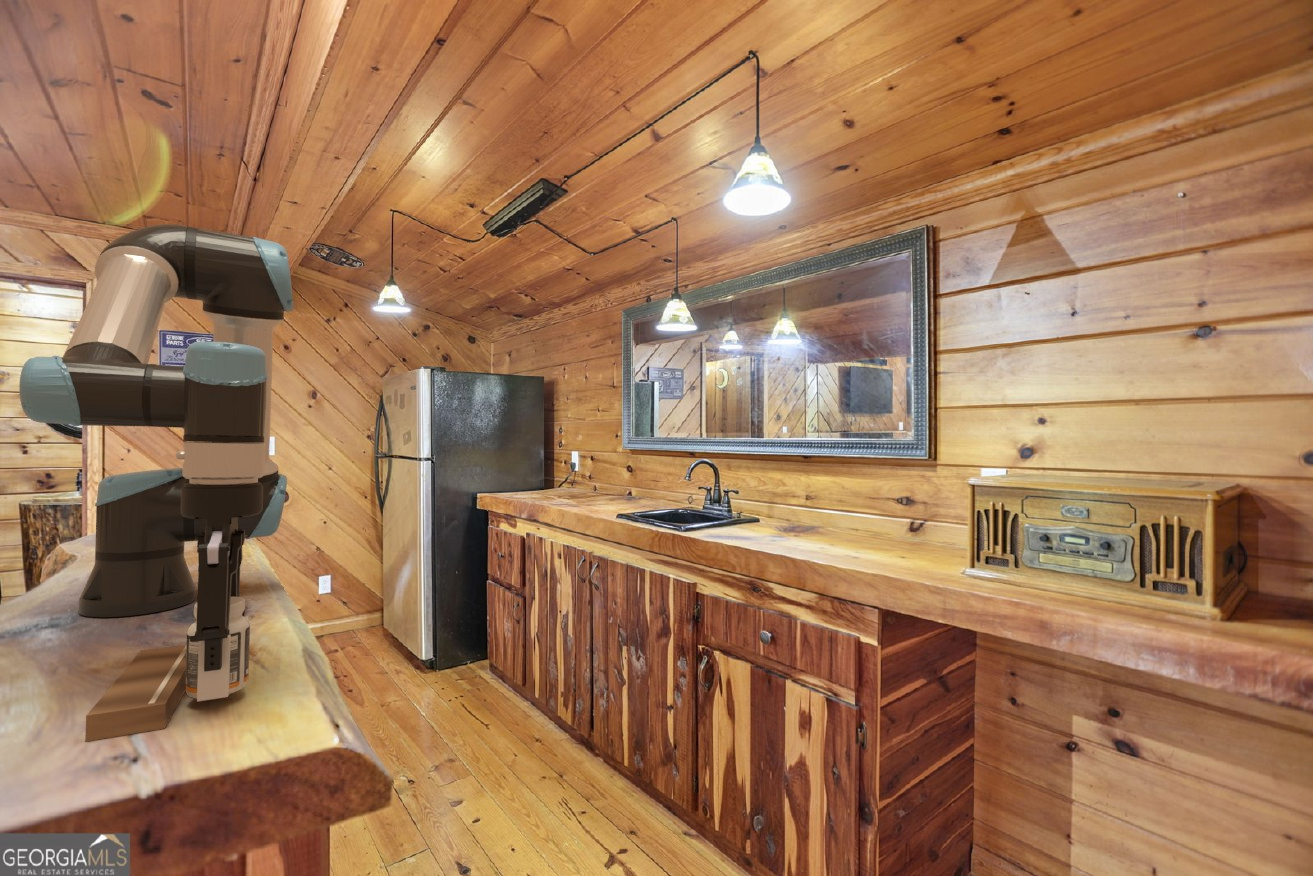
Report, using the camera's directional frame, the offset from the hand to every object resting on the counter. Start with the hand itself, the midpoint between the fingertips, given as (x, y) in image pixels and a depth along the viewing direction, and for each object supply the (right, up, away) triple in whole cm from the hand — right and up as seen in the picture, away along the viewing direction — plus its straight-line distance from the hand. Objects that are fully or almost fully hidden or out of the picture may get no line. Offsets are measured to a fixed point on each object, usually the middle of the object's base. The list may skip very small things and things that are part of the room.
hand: (217, 686), depth 67 cm
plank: (-8, -1, 0) cm, 8 cm away
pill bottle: (0, -1, 0) cm, 1 cm away
